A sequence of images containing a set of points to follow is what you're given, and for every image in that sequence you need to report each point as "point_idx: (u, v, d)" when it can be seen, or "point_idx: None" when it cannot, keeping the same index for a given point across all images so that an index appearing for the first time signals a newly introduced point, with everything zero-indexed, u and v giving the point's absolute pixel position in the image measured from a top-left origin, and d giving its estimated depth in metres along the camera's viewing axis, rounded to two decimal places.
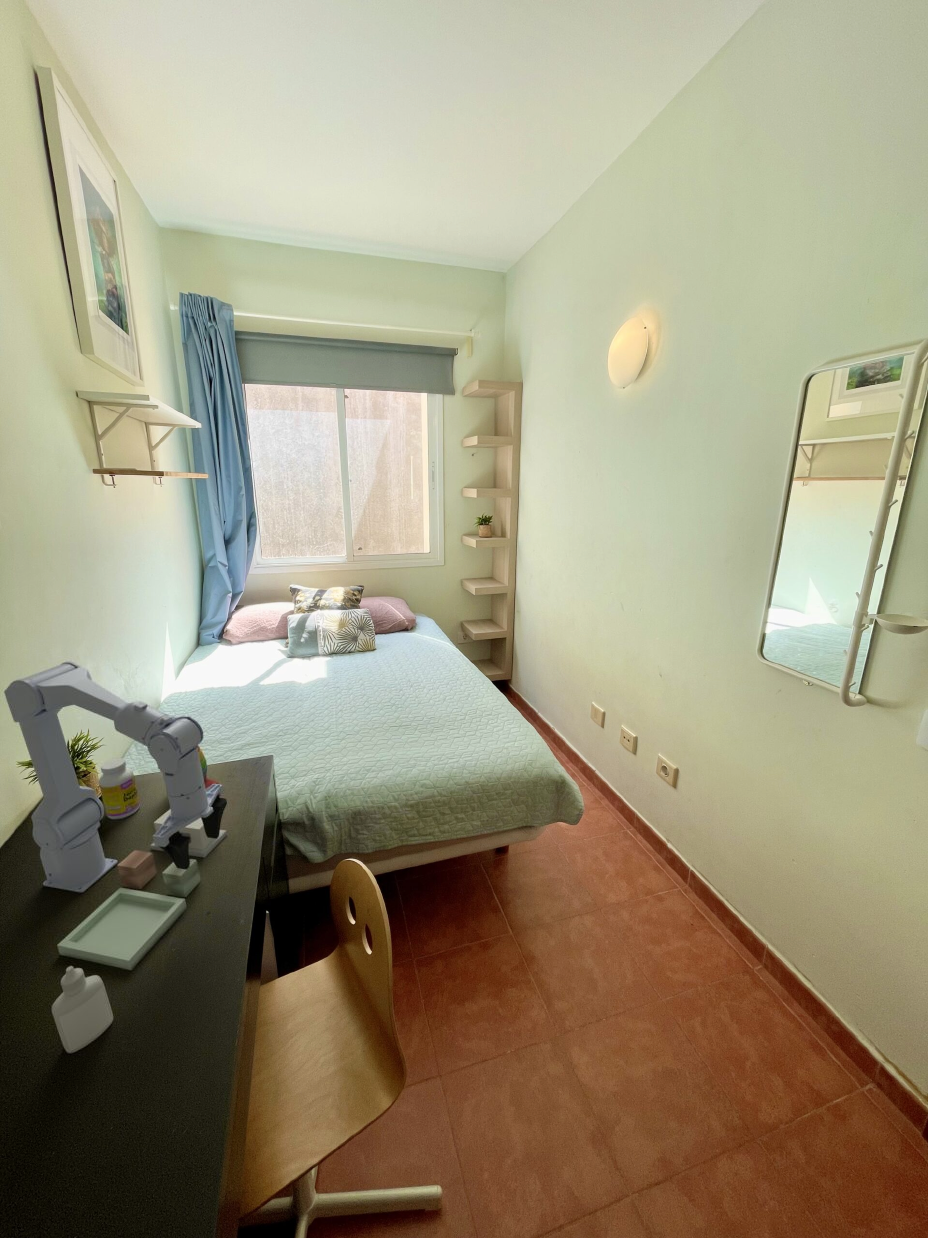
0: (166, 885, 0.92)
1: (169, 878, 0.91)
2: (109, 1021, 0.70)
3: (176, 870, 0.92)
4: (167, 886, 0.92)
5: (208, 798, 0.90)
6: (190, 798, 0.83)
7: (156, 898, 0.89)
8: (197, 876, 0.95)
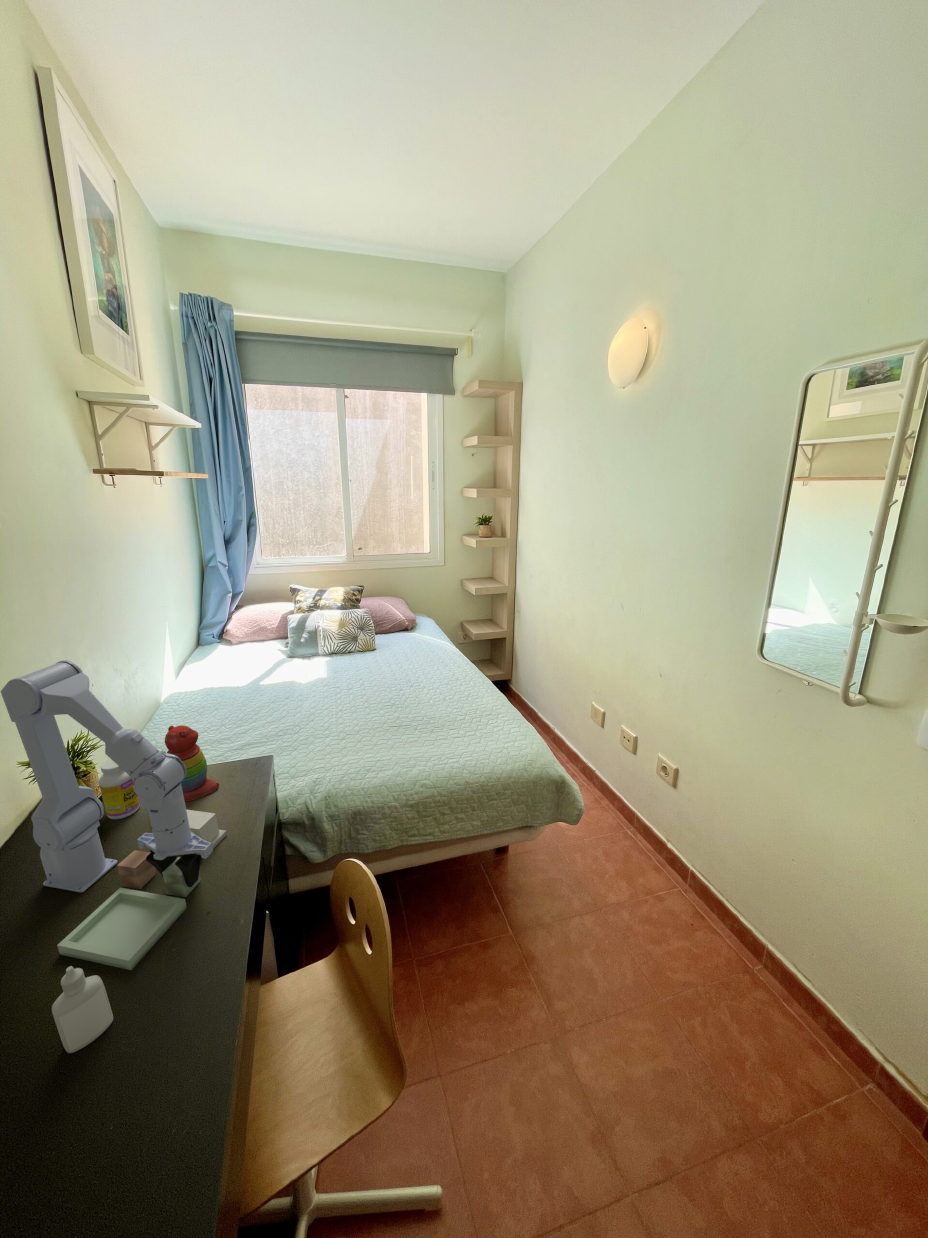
0: (166, 885, 0.92)
1: (169, 878, 0.91)
2: (109, 1021, 0.70)
3: (176, 869, 0.92)
4: (167, 886, 0.92)
5: (188, 848, 0.90)
6: None
7: (156, 898, 0.89)
8: None
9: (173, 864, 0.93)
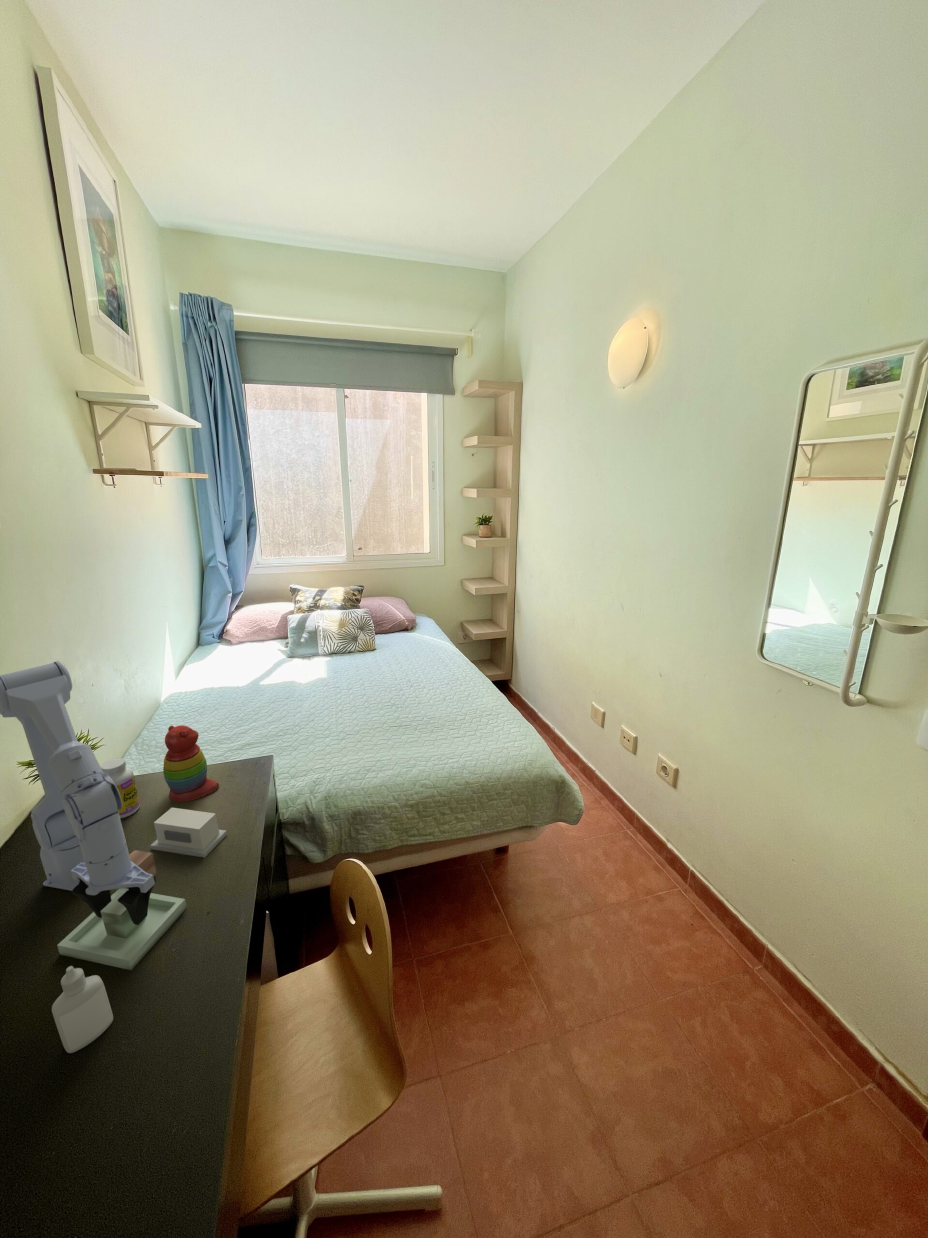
0: (105, 925, 0.83)
1: (108, 917, 0.82)
2: (109, 1021, 0.70)
3: (116, 908, 0.83)
4: (106, 926, 0.83)
5: (126, 881, 0.81)
6: (85, 864, 0.79)
7: (156, 898, 0.89)
8: None
9: (114, 901, 0.84)
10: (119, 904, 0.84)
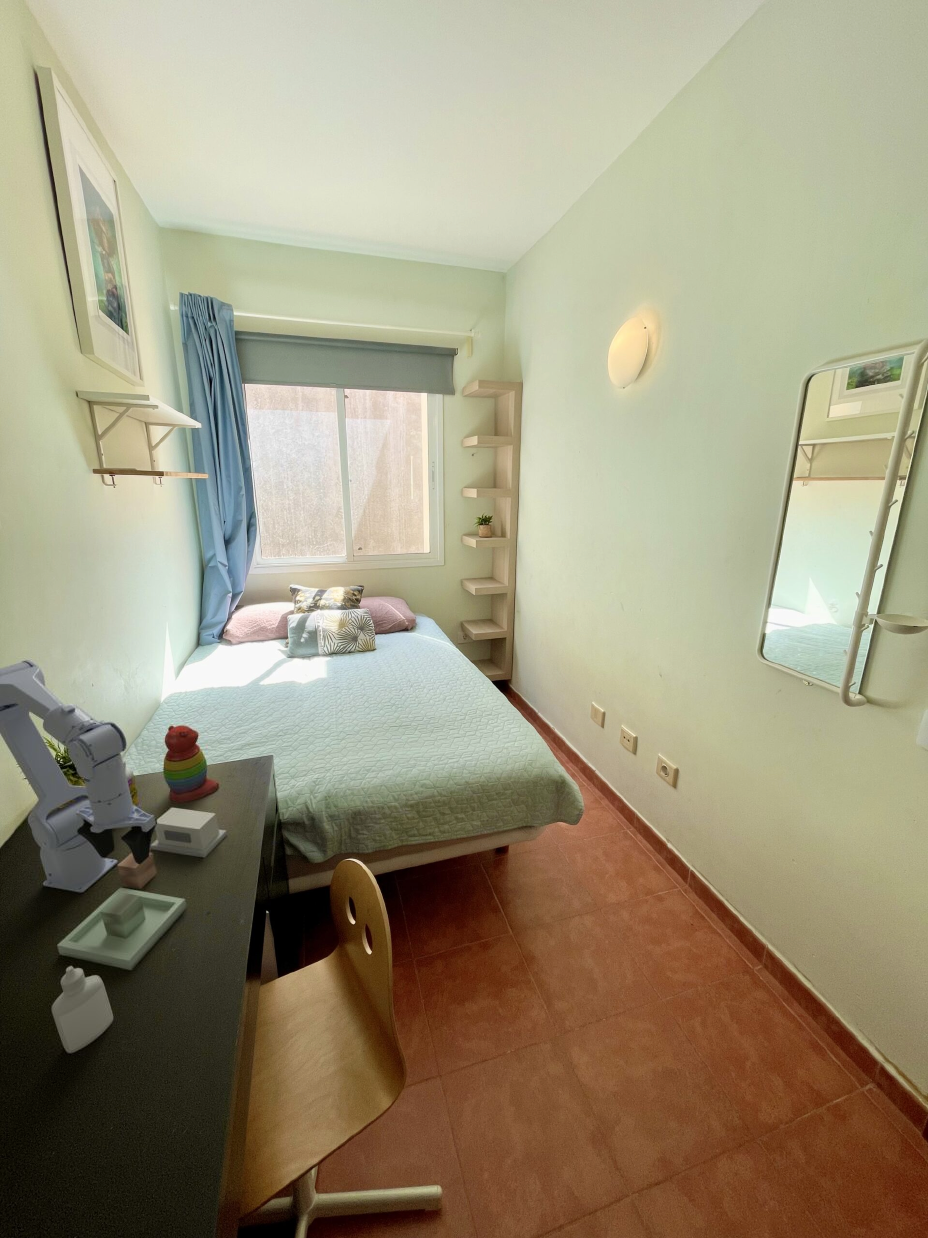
0: (105, 925, 0.83)
1: (108, 917, 0.82)
2: (109, 1021, 0.70)
3: (116, 908, 0.83)
4: (106, 926, 0.83)
5: (128, 821, 0.85)
6: (90, 803, 0.84)
7: (156, 898, 0.89)
8: (142, 913, 0.86)
9: (114, 901, 0.84)
10: (119, 904, 0.84)
